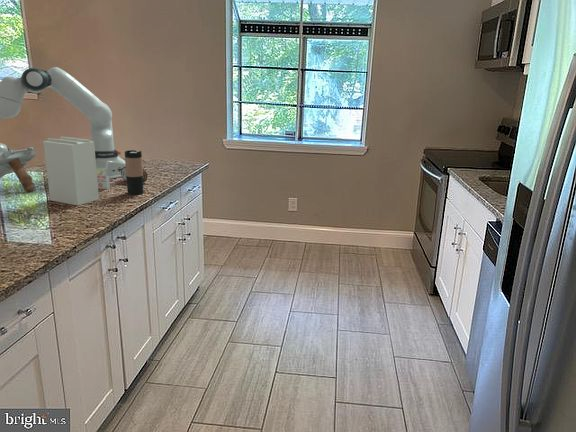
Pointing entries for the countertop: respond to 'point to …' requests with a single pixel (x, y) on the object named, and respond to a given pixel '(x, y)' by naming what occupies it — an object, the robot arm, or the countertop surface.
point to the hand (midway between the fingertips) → (22, 149)
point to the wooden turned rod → (22, 175)
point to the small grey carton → (103, 178)
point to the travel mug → (134, 172)
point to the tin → (123, 174)
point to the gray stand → (71, 170)
